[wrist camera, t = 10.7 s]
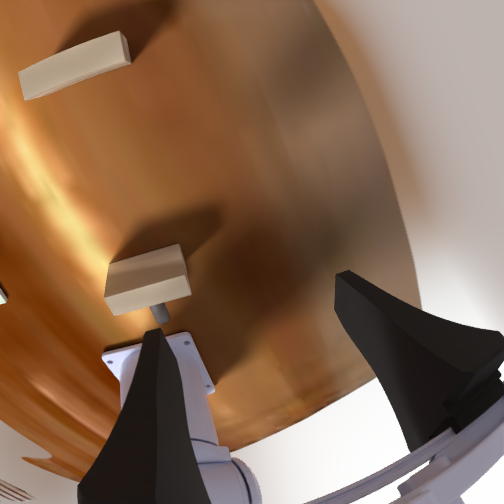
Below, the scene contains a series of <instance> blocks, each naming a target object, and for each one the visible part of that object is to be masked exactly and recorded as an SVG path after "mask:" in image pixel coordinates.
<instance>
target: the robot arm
mask: <svg viewBox="0 0 504 504" xmlns="http://www.w3.org/2000/svg"><path fill="white" fill-rule="evenodd" d="M334 310H335V312H336V314H337V316H338V318H339V320H340V322H341V323H342V325H343V327H344V329H345V330H346V332H347V333H348V335H349V336H350V338H351V339H352V341H353V342H354V343H355V345H356V346H357V348H358V349H359V350H360V352H361V353H362V355H363V356H364V358H365V359H366V360H367V362H368V363H369V365H370V366H371V368H372V369H373V371H374V372H375V374H376V376H377V378H378V380H379V382H380V383H381V385H382V387H383V389H384V391H385V393H386V395H387V397H388V399H389V401H390V403H391V405H392V408H393V410H394V412H395V414H396V417H397V419H398V422H399V424H400V427H401V429H402V432H403V435H404V437H405V440H406V443H407V446H408V449H409V451H410V452H411V453H410V454H408V455H407V456H405V457H403V458H402V459H400V460H398V461H396V462H395V463H393V464H391V465H389V466H387V467H385V468H384V469H382V470H380V471H378V472H376V473H374V474H372V475H370V476H368V477H366V478H364V479H362V480H360V481H357V482H355V483H353V484H351V485H349V486H347V487H344V488H342V489H340V490H337V491H335V492H333V493H330V494H328V495H325V496H323V497H320V498H317V499H315V500H312V501H310V502H307V503H304V504H349V503H352V502H354V501H356V500H358V499H360V498H363V497H365V496H366V495H369V494H371V493H373V492H375V491H377V490H379V489H381V488H382V487H384V486H386V485H388V484H390V483H392V482H394V481H395V480H397V479H399V478H401V477H402V476H404V475H406V474H407V473H409V472H411V471H413V470H414V469H416V468H417V467H419V466H421V465H422V464H424V463H425V462H427V461H428V460H430V462H429V465H427V466H426V467H424V468H423V469H422V470H420V471H419V472H417V473H415V474H414V475H412V476H411V477H410V478H409V479H408V480H407V481H405V482H403V483H402V484H400V485H399V486H398V487H397V489H398V490H399V492H400V494H401V497H400V498H398V499H397V500H395V501H393V502H391V503H389V504H464V502H463V500H462V499H461V497H460V495H461V494H463V493H464V492H465V491H466V490H467V489H468V488H470V487H471V486H472V485H473V484H474V483H475V482H476V481H477V480H479V479H480V478H481V477H482V476H483V475H484V474H485V473H486V472H487V471H488V470H489V469H490V468H491V467H492V466H493V465H494V464H495V463H496V462H497V461H498V460H499V459H500V458H501V457H502V456H503V455H504V381H503V382H502V381H501V380H500V379H499V378H500V377H501V373H500V372H499V371H498V368H499V367H500V365H501V364H502V363H503V361H504V336H503V335H502V334H501V333H500V332H499V331H493V330H486V329H480V328H475V327H471V326H466V325H462V324H458V323H455V322H452V321H449V320H445V319H443V318H440V317H437V316H434V315H432V314H429V313H427V312H425V311H422V310H420V309H418V308H416V307H413V306H411V305H409V304H407V303H405V302H403V301H401V300H400V299H398V298H396V297H394V296H392V295H390V294H389V293H387V292H385V291H383V290H382V289H380V288H378V287H377V286H375V285H373V284H372V283H370V282H368V281H367V280H365V279H363V278H362V277H360V276H358V275H357V274H355V273H353V272H351V271H350V270H347V271H344V272H341V273H338V274H336V281H335V304H334ZM185 341H187V342H185ZM102 360H103V361H104V362H105V363H106V365H107V366H108V367H109V369H110V370H111V371H112V372H113V374H114V375H115V376H116V377H117V379H118V380H119V381H120V395H121V412H120V414H119V417H118V419H117V421H116V423H115V425H114V427H113V430H112V432H111V434H110V436H109V438H108V440H107V441H106V443H105V445H104V447H103V448H102V450H101V452H100V453H99V455H98V457H97V458H96V460H95V462H94V463H93V465H92V466H91V468H90V469H89V471H88V472H87V473H86V475H85V476H84V478H83V479H82V480H81V482H80V483H79V484H78V489H77V498H78V504H262V497H261V491H260V487H259V485H258V481H257V479H256V477H255V475H254V474H253V472H252V471H251V469H250V468H249V467H247V465H246V464H245V463H244V462H243V461H241V460H240V459H238V458H231V456H230V452H229V449H228V447H220V446H219V444H218V438H217V434H216V430H215V426H214V423H213V419H212V415H211V411H210V407H209V403H208V399H207V394H211V393H213V392H215V387H214V385H213V383H212V380H211V378H210V376H209V374H208V372H207V370H206V368H205V366H204V363H203V361H202V359H201V357H200V355H199V352H198V350H197V348H196V346H195V343H194V341H193V339H192V337H191V334H190V333H188V332H182V333H178V334H174V335H171V336H167V337H165V336H164V334H163V332H162V330H161V328H158V329H154V330H150V331H147V332H145V334H144V338H143V342H142V343H140V344H136V345H132V346H128V347H124V348H120V349H116V350H112V351H107V352H104V353H103V354H102ZM110 360H111V361H110ZM431 458H432V459H431Z"/></svg>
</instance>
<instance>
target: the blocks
mask: <svg viewBox="0 0 504 504" xmlns="http://www.w3.org/2000/svg"><path fill="white" fill-rule="evenodd" d="M129 64H132V63H131V58H130V53H129V48H128V43H127V39H126V38H125V37H124V36H123V34H122V33H121V32H120V31H117V32H113V33H110V34H107V35H104V36H101V37H98V38H96V39H93V40H90V41H87V42H85V43H82V44H79V45H77V46H74V47H72V48H69V49H67V50H65V51H62V52H60V53H58V54H55V55H53V56H51V57H49V58H47V59H44V60H42V61H40V62H38V63H36V64H34V65H32V66H30V67H28V68H26V69H24V70H22V71H20V72H18V73H19V78H20V83H21V87H22V91H23V96H24V100H25V101H27V100H30V99H34V98H38V97H42V96H46V95H49V94H51V93H54V92H56V91H58V90H61V89H63V88H65V87H68V86H70V85H73V84H75V83H78V82H80V81H83V80H85V79H88V78H91V77H93V76H96V75H99V74H102V73H105V72H108V71H111V70H114V69H117V68H120V67H123V66H126V65H129ZM188 295H192V294H191V289H190V284H189V279H188V274H187V269H186V264H185V260H184V257H183V254H182V251H181V248H180V245H179V244H175V245H172V246H168V247H165V248H161V249H158V250H155V251H151V252H148V253H144V254H141V255H138V256H134V257H131V258H128V259H124V260H121V261H118V262H114V263H111V264H109V267H108V273H107V280H106V287H105V294H104V299H105V301H106V303H107V304H108V306H109V308H110V310H111V311H112V313H113V315H114V316H116V315H120V314H124V313H127V312H131V311H135V310H138V309H142V308H146V307H150V309H151V311H152V313H153V315H154V317H155V319H156V321H157V323H159V324H164V323H166V322H168V321H169V319H170V315H169V312H168V310H167V308H166V306H165V303H164V302H167V301H171V300H174V299H178V298H181V297H185V296H188Z"/></svg>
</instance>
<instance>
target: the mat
mask: <svg viewBox="0 0 504 504" xmlns="http://www.w3.org/2000/svg"><path fill="white" fill-rule="evenodd" d="M6 302H7V298H6V296H5V295H4V293H3V291H2V290H1V288H0V304H3V303H6Z"/></svg>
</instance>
